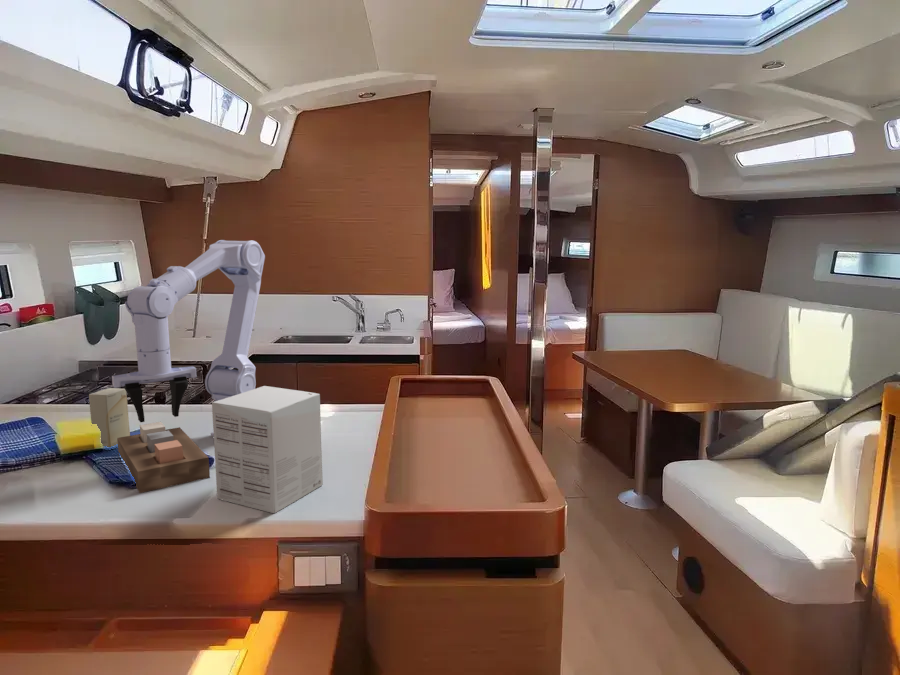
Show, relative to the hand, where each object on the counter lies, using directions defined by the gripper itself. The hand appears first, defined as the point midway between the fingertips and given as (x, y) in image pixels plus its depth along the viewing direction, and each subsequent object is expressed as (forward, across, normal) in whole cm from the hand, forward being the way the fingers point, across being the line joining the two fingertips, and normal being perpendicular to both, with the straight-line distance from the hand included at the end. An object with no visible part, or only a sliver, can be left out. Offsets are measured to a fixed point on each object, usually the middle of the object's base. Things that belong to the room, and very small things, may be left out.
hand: (158, 418), depth 119 cm
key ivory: (+7, 0, -7) cm, 10 cm away
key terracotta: (+7, 0, +7) cm, 10 cm away
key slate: (+7, 0, 0) cm, 7 cm away
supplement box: (+10, -13, +24) cm, 29 cm away
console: (+10, 0, 0) cm, 10 cm away
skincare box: (+10, +6, -19) cm, 22 cm away
